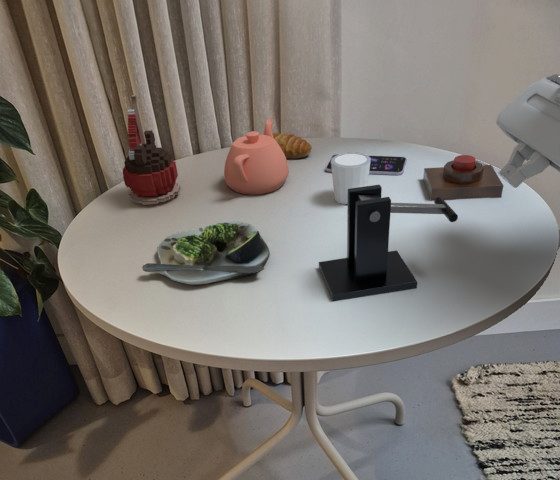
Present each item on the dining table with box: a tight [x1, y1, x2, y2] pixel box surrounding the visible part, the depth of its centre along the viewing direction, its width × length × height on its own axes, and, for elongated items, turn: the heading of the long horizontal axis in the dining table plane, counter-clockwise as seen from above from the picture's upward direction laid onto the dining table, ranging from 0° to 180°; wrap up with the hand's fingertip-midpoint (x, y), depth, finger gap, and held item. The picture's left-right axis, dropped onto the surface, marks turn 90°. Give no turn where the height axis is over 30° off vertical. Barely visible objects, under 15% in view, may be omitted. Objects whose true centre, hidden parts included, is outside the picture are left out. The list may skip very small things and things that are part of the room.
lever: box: [357, 195, 459, 223], centre depth 77 cm, size 13×6×2 cm, turn 100°
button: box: [453, 154, 477, 171], centre depth 100 cm, size 4×4×2 cm
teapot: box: [223, 117, 290, 195], centre depth 108 cm, size 12×18×10 cm
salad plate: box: [142, 220, 271, 285], centre depth 88 cm, size 19×18×5 cm
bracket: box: [318, 184, 418, 302], centre depth 79 cm, size 12×9×13 cm
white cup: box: [331, 151, 371, 205], centre depth 101 cm, size 7×7×7 cm
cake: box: [122, 94, 181, 205], centre depth 103 cm, size 11×9×18 cm
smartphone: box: [325, 153, 408, 176], centre depth 113 cm, size 8×1×15 cm
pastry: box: [272, 132, 313, 160], centre depth 119 cm, size 9×7×4 cm
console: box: [422, 159, 504, 202], centre depth 101 cm, size 12×9×4 cm
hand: (506, 181), depth 76 cm, fingers closed
